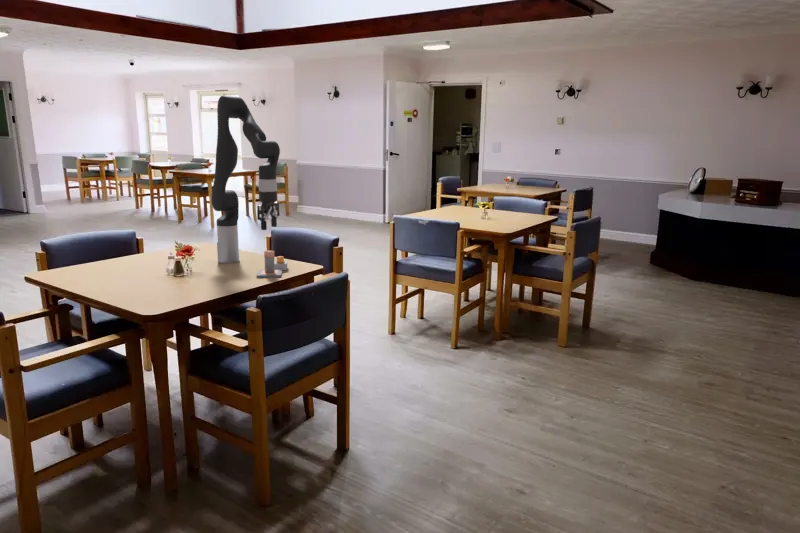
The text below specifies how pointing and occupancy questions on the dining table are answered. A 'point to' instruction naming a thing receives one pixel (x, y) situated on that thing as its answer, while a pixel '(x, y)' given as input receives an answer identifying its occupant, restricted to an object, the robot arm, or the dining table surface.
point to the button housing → (280, 265)
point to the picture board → (269, 274)
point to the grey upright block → (269, 261)
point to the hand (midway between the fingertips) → (269, 228)
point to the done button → (280, 259)
